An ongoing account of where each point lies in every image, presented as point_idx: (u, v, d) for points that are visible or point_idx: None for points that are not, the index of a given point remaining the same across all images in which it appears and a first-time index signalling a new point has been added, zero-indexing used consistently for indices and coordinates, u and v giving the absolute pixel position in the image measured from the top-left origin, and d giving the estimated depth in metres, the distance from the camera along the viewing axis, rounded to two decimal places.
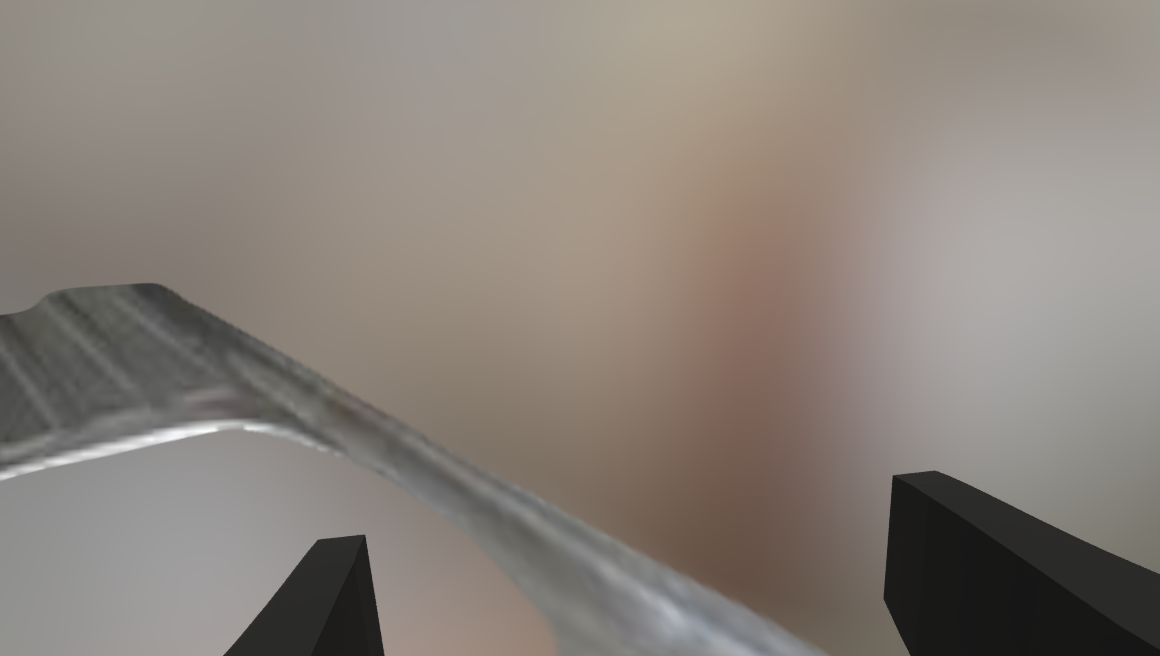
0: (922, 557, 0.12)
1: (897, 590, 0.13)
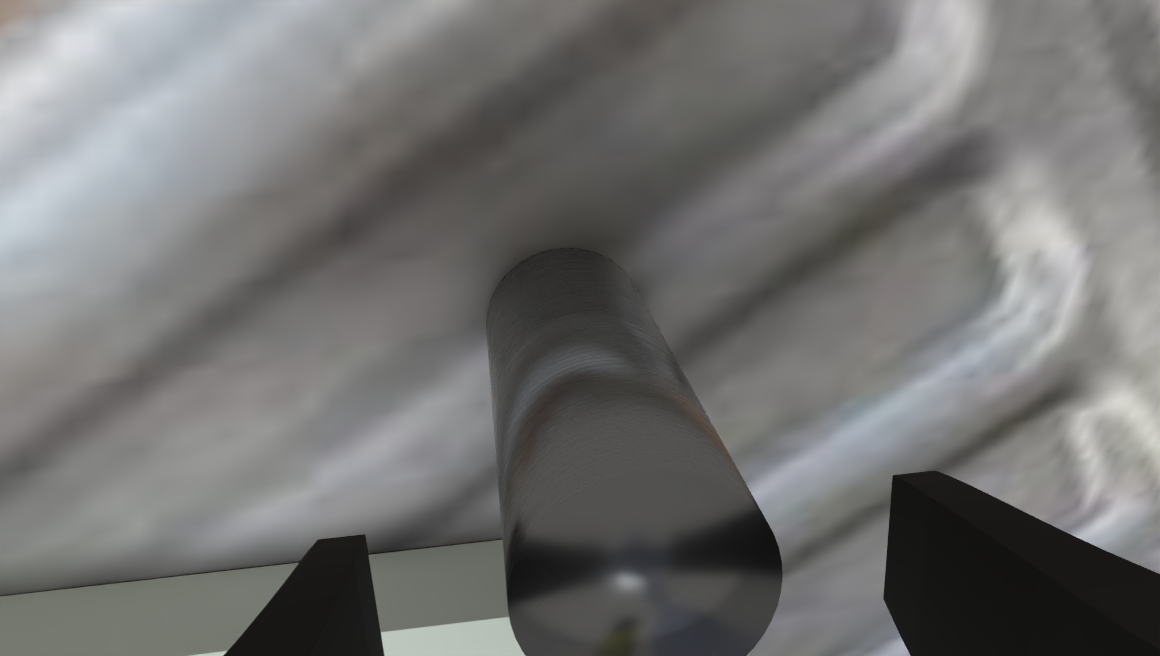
0: (922, 557, 0.12)
1: (897, 590, 0.13)
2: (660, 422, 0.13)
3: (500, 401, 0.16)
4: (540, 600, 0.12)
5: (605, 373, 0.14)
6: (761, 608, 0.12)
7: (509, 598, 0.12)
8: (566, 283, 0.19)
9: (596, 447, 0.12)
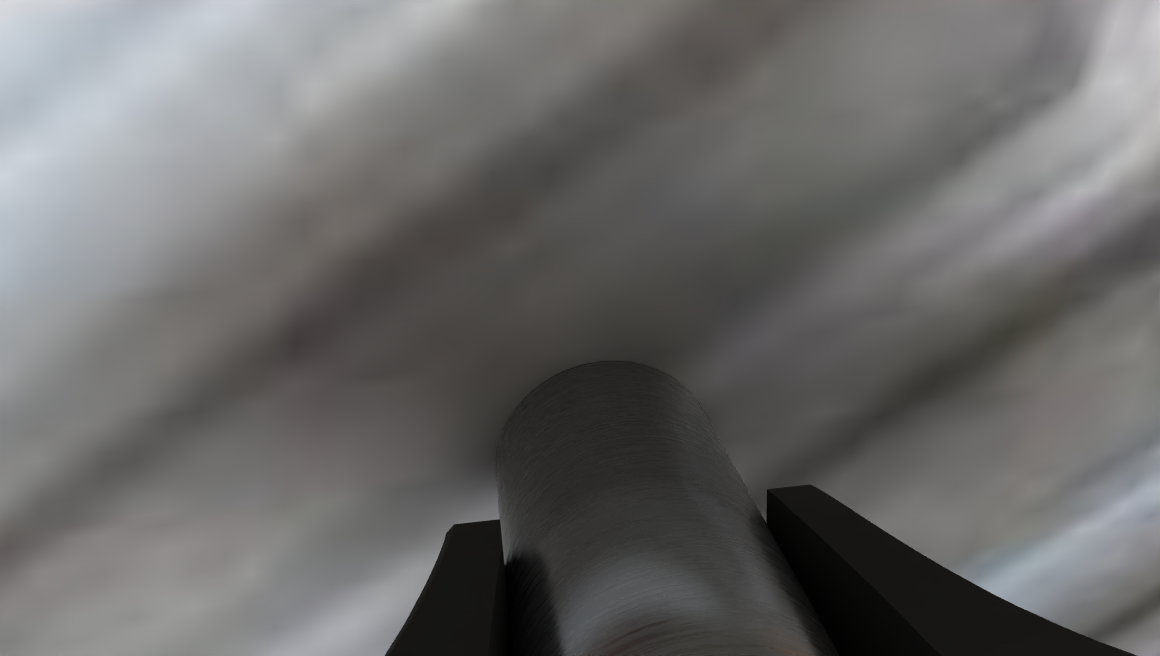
0: None
1: None
2: None
3: None
4: None
5: None
6: None
7: None
8: (616, 434, 0.12)
9: None
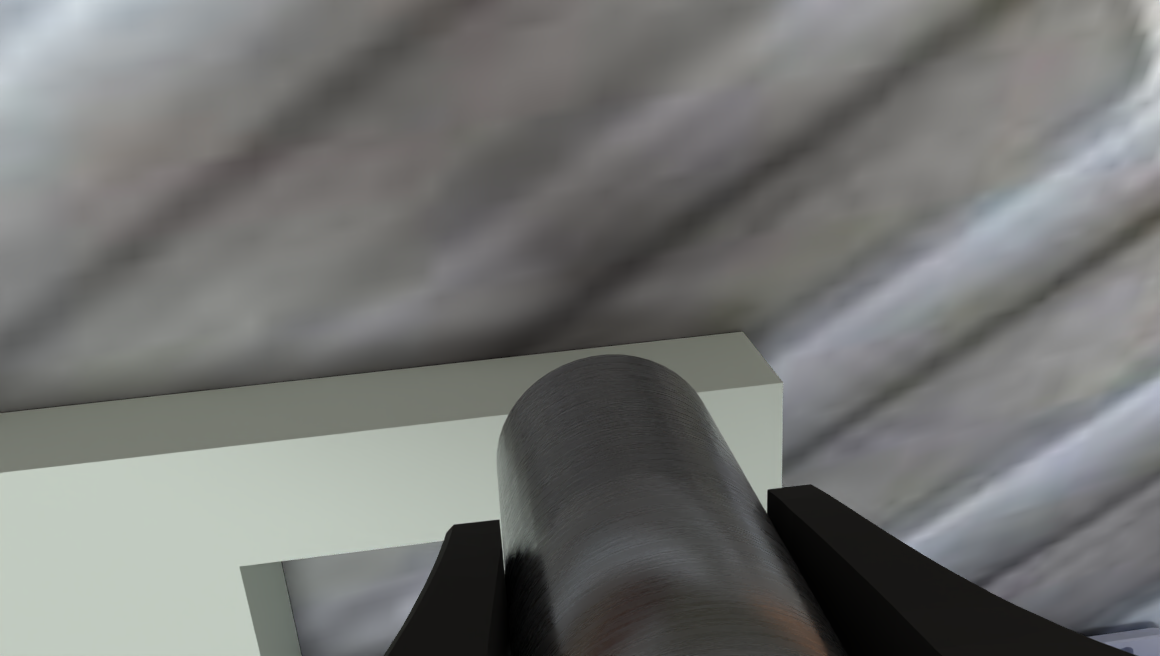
0: None
1: None
2: None
3: (526, 645, 0.10)
4: None
5: (720, 655, 0.08)
6: None
7: None
8: (623, 425, 0.12)
9: None
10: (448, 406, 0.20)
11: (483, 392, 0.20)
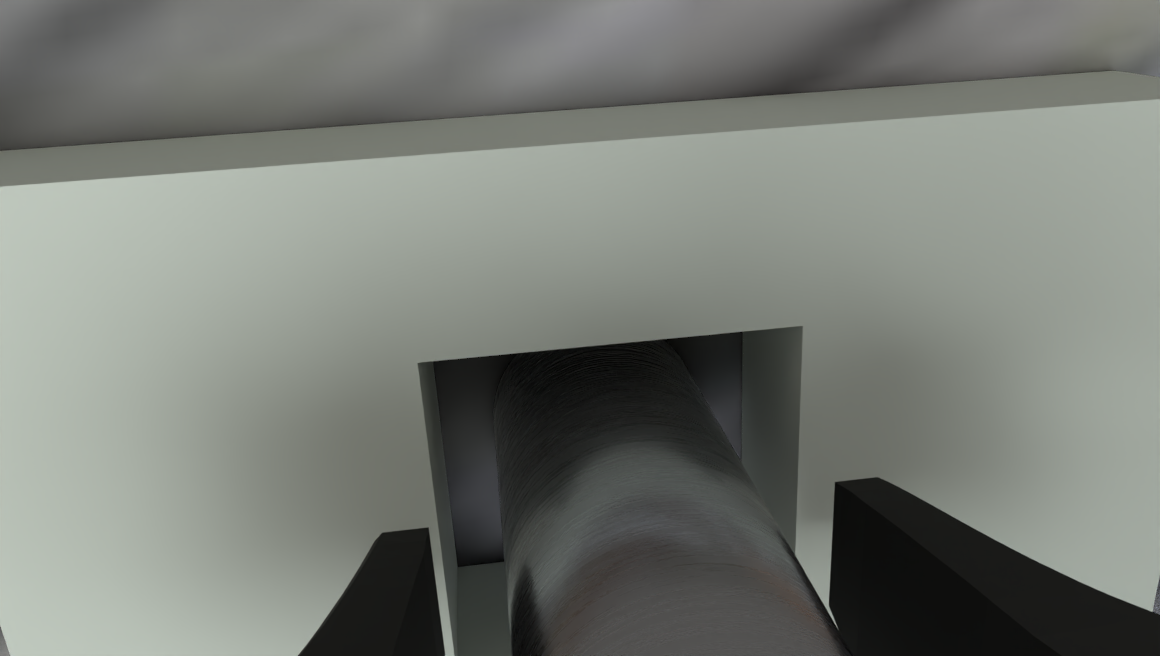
0: (861, 565, 0.12)
1: (840, 597, 0.13)
2: None
3: (521, 549, 0.11)
4: None
5: (692, 546, 0.10)
6: None
7: None
8: (613, 373, 0.14)
9: None
10: (741, 121, 0.13)
11: (783, 112, 0.13)
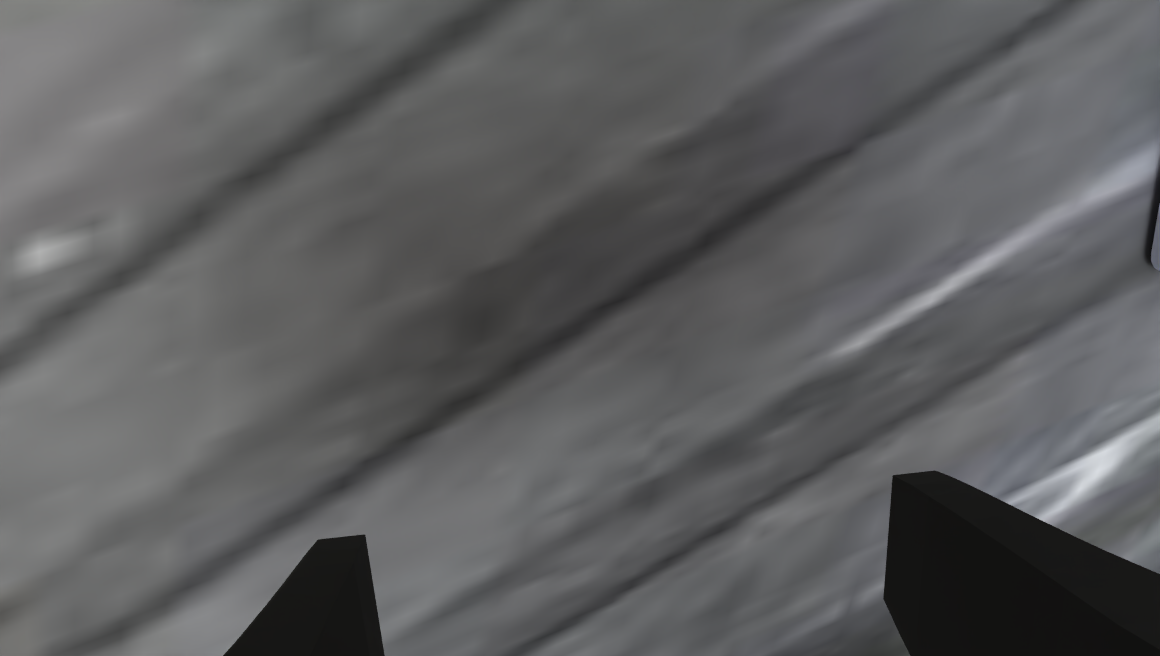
0: (922, 557, 0.12)
1: (897, 590, 0.13)
2: None
3: None
4: None
5: None
6: None
7: None
8: None
9: None
10: None
11: None
